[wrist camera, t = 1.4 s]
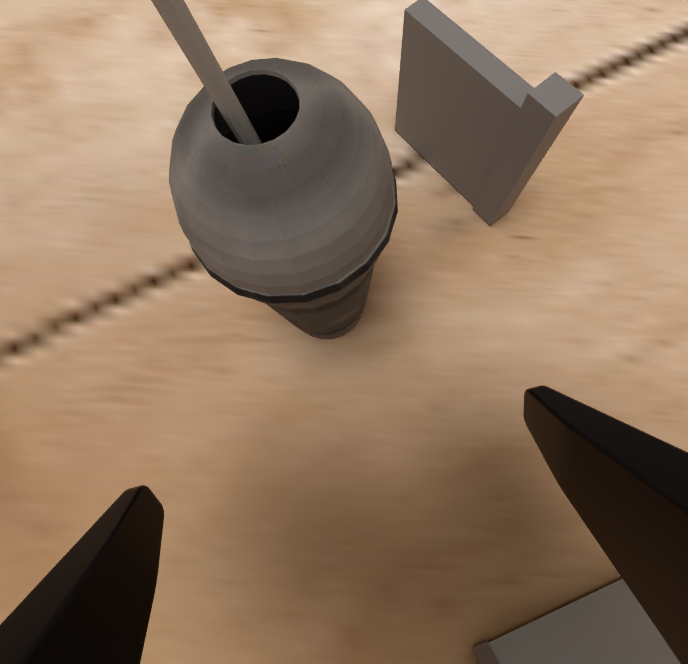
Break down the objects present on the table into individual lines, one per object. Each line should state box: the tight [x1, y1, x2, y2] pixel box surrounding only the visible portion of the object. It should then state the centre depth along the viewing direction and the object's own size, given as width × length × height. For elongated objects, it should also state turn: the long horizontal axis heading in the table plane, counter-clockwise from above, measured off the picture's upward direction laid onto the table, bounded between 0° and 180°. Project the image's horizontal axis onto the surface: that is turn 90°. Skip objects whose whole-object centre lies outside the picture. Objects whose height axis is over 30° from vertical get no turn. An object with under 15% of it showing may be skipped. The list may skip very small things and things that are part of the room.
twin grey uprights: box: [395, 0, 584, 226], centre depth 19 cm, size 34×2×9 cm, turn 39°
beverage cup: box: [151, 0, 398, 339], centre depth 14 cm, size 7×7×20 cm
